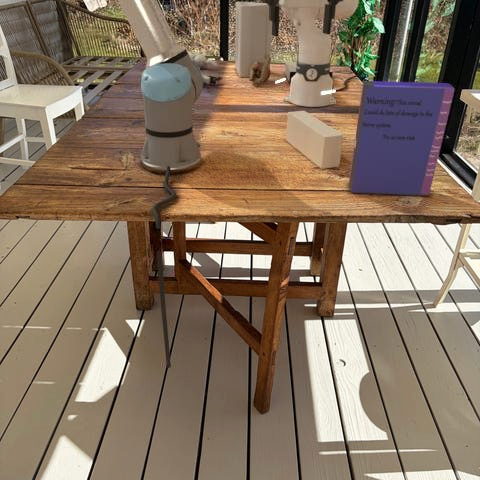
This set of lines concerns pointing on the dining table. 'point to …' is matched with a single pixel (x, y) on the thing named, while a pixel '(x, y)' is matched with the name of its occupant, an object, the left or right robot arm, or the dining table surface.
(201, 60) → the toy
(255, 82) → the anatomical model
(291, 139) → the bar
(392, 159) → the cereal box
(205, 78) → the figurine
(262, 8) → the white upright box
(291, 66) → the disc drive
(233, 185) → the dining table surface
